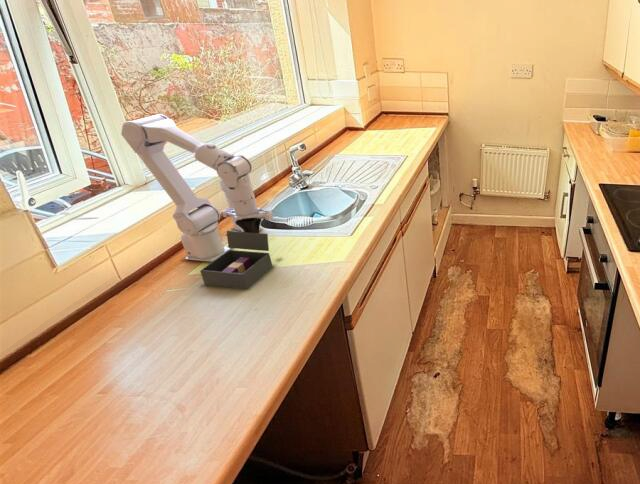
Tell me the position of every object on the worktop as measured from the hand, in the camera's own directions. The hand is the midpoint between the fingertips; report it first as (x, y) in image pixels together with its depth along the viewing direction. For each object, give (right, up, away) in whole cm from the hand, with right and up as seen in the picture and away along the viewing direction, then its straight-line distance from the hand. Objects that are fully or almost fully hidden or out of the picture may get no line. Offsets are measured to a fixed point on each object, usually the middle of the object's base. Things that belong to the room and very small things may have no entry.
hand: (254, 238), depth 121 cm
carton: (-1, -10, -5) cm, 11 cm away
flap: (0, 0, -3) cm, 3 cm away
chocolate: (-1, -10, -5) cm, 12 cm away
